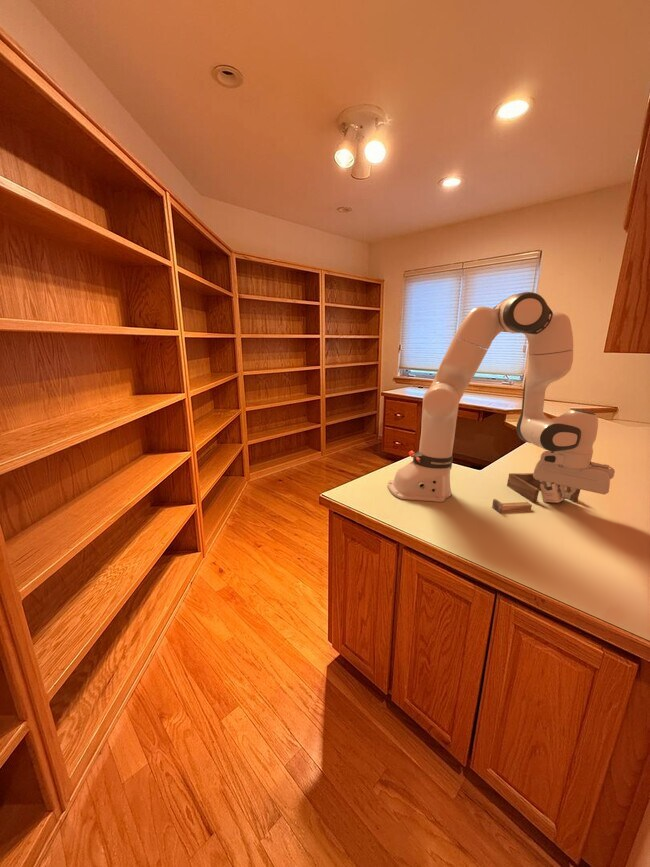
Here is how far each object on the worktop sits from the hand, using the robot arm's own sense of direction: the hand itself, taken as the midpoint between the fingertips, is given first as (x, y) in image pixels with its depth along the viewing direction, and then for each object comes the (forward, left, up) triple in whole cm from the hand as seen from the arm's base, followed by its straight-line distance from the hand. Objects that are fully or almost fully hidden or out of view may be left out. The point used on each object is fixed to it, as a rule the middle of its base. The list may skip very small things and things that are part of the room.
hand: (565, 498), depth 109 cm
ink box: (0, +3, -2) cm, 4 cm away
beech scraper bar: (-20, -1, -3) cm, 20 cm away
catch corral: (-1, +9, -3) cm, 10 cm away
